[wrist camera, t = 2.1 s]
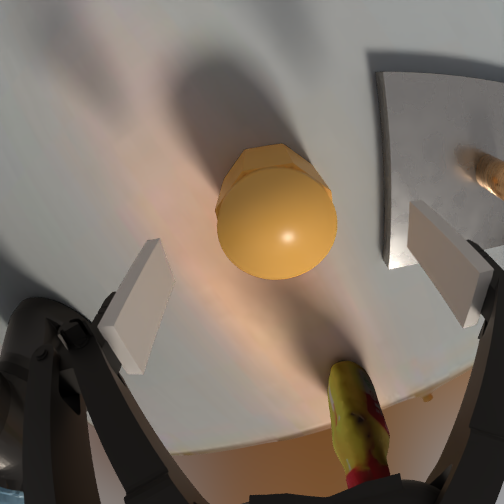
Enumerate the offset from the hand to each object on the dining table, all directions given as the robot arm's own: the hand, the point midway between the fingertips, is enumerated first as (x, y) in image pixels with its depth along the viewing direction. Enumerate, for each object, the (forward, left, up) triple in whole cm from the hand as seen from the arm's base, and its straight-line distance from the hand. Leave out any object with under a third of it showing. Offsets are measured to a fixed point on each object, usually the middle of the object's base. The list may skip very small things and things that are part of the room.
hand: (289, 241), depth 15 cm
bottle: (+6, -25, -9) cm, 27 cm away
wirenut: (0, 0, -9) cm, 9 cm away
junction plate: (+19, 0, -9) cm, 20 cm away
